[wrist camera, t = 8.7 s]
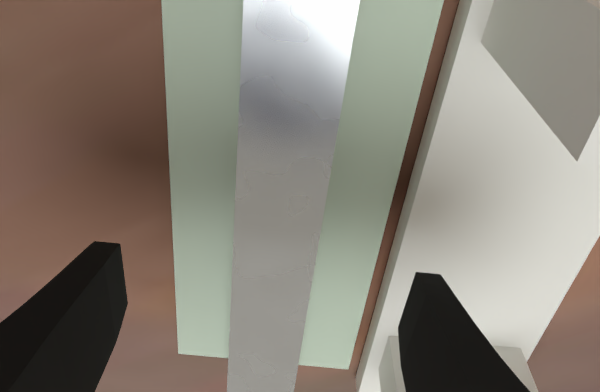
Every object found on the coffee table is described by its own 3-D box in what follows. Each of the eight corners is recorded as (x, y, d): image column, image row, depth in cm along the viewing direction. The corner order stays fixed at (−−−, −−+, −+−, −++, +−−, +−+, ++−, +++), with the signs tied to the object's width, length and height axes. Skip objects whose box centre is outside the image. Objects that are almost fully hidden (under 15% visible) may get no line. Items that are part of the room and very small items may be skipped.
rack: (355, 376, 22) (368, 556, 16) (503, -157, 11) (685, -155, 6) (492, 389, 22) (549, 570, 17) (768, -122, 11) (1195, -87, 6)
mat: (180, 345, 21) (178, 353, 21) (159, -146, 11) (154, -145, 11) (347, 361, 21) (348, 369, 21) (466, -107, 12) (471, -105, 11)
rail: (233, 366, 21) (225, 415, 19) (261, -158, 11) (250, -158, 9) (291, 372, 21) (288, 421, 19) (372, -144, 11) (383, -141, 9)
